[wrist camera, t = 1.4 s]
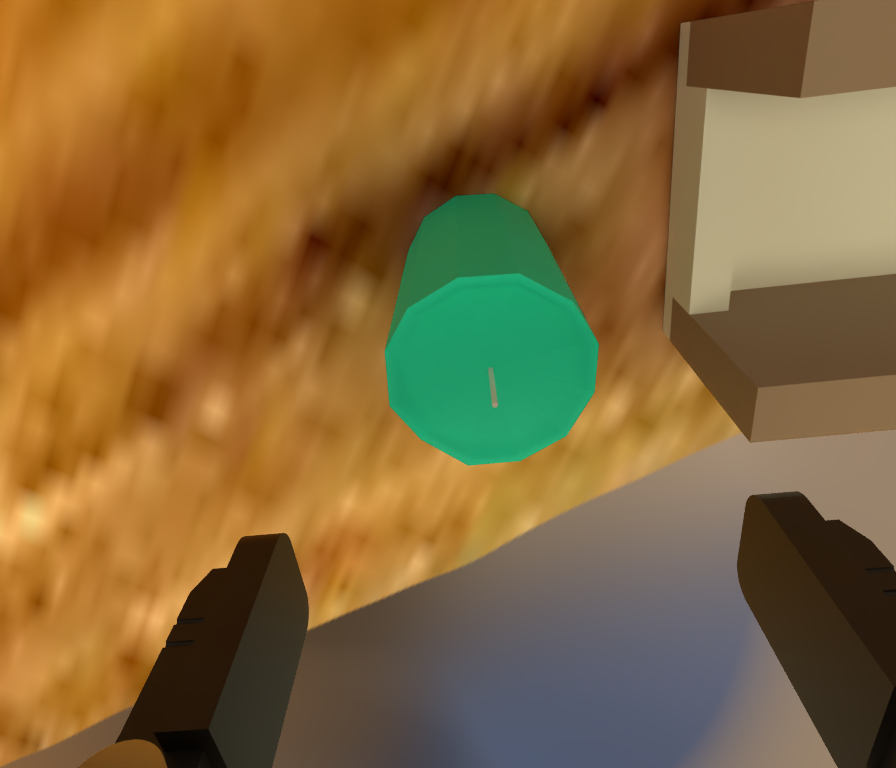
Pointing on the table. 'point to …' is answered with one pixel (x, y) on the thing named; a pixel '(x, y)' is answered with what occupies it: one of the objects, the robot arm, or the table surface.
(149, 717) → the robot arm
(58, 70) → the table surface
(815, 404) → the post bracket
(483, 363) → the candle
